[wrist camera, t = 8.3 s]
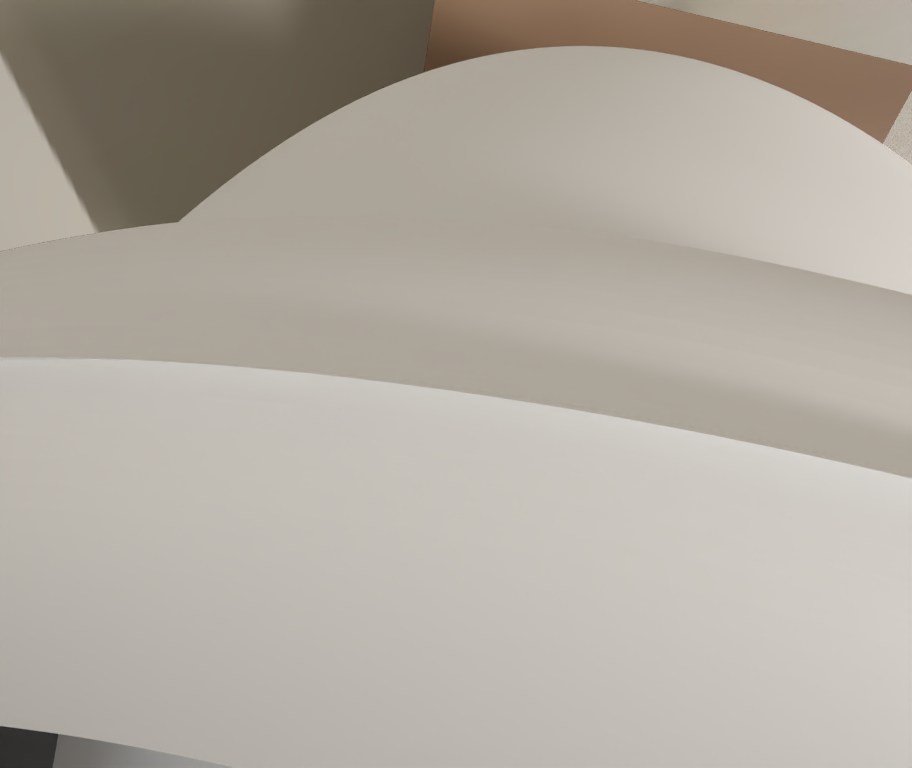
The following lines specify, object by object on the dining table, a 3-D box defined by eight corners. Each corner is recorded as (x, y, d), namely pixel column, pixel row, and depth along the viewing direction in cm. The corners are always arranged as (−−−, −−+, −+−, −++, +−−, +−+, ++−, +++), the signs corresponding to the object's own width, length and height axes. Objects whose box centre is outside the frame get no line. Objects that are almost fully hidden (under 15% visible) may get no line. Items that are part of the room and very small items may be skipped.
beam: (457, -42, 15) (407, -55, 11) (896, 62, 14) (984, 81, 10) (342, 657, 30) (307, 739, 26) (546, 727, 29) (536, 821, 26)
